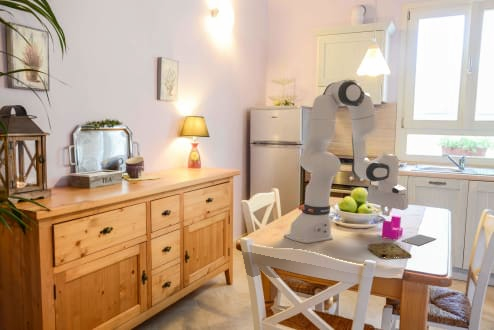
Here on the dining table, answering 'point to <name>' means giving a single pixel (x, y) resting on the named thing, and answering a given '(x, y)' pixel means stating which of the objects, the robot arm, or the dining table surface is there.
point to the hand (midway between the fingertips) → (385, 215)
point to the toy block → (392, 228)
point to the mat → (419, 240)
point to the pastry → (388, 250)
